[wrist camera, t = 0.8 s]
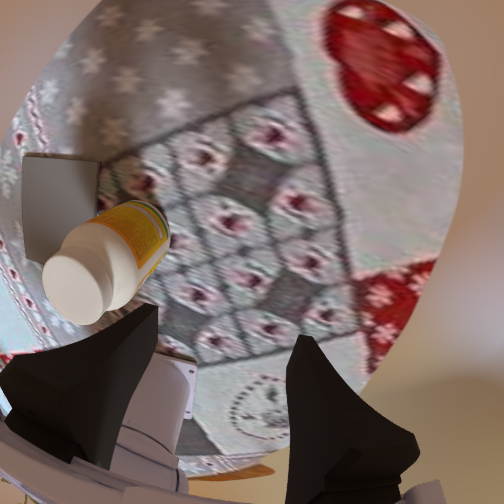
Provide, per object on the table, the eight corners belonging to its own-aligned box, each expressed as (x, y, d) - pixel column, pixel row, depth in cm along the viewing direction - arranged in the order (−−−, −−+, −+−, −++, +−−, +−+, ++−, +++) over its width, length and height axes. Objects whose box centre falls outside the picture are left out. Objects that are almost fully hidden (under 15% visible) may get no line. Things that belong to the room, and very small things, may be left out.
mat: (97, 278, 23) (95, 280, 22) (28, 256, 23) (26, 258, 22) (100, 162, 19) (97, 162, 19) (25, 156, 19) (22, 156, 18)
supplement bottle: (168, 271, 22) (117, 350, 13) (109, 256, 22) (40, 319, 13) (176, 205, 20) (114, 257, 11) (112, 192, 20) (28, 232, 11)
